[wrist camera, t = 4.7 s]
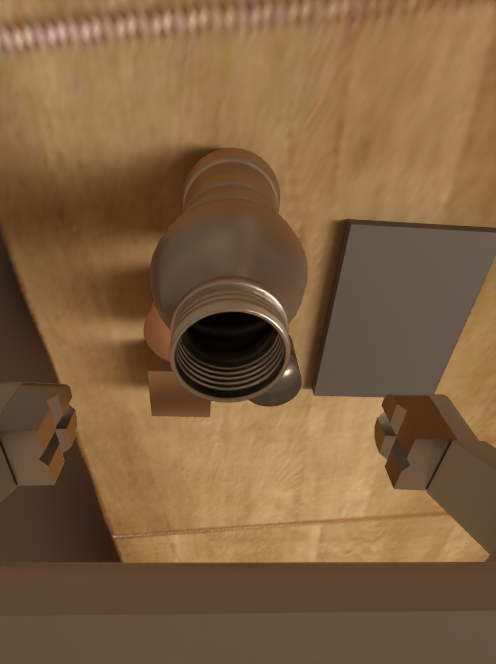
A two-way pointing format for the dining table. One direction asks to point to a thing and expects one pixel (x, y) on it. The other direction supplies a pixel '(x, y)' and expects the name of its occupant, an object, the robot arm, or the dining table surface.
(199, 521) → the dining table surface
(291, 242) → the plastic bottle
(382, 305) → the charcoal board
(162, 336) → the terracotta jar
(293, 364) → the dark metal tin
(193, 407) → the walnut block
